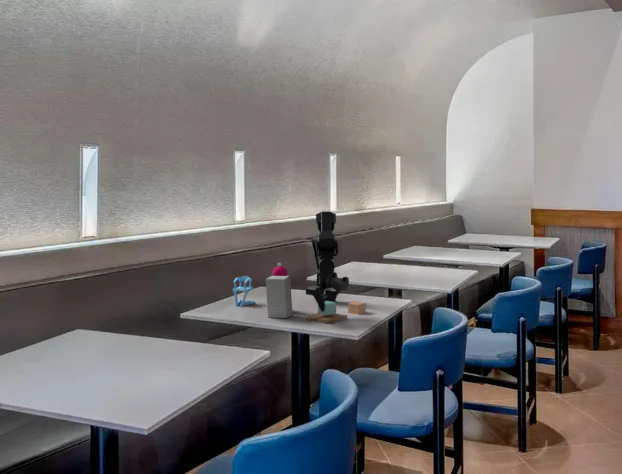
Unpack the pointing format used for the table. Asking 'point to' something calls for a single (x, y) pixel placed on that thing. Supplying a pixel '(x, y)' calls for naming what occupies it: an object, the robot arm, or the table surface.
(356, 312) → the tan brick
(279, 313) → the skincare box
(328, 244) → the robot arm
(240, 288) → the chair
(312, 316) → the walnut board
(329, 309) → the teal brick
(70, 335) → the table surface
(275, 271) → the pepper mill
